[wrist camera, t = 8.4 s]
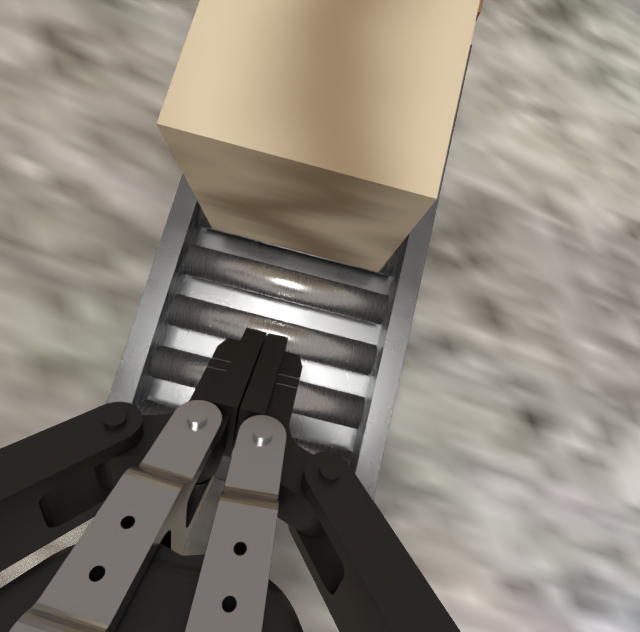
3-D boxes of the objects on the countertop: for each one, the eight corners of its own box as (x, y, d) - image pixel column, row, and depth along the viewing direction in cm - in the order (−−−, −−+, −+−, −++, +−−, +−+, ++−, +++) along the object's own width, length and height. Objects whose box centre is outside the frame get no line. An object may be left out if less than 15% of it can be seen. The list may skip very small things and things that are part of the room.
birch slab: (212, 228, 19) (156, 123, 11) (268, 45, 21) (254, -158, 13) (378, 272, 19) (436, 198, 12) (421, 87, 21) (499, -87, 13)
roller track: (116, 447, 20) (23, 484, 13) (251, 27, 24) (234, -116, 17) (357, 507, 20) (390, 573, 13) (451, 83, 24) (515, -36, 17)
